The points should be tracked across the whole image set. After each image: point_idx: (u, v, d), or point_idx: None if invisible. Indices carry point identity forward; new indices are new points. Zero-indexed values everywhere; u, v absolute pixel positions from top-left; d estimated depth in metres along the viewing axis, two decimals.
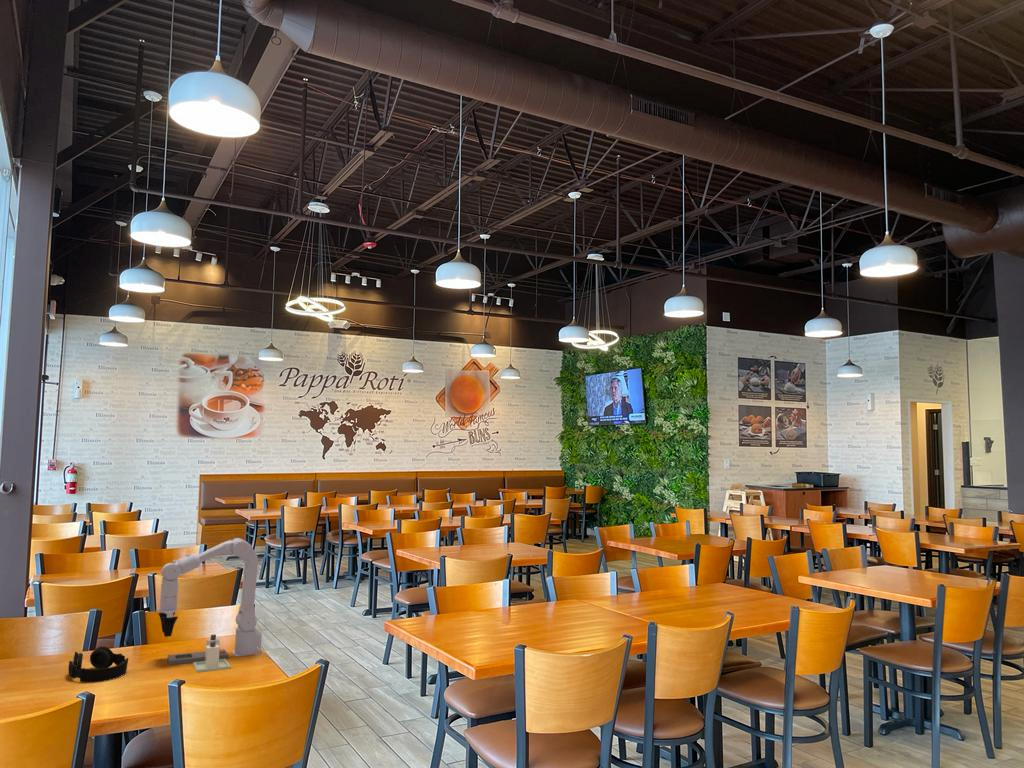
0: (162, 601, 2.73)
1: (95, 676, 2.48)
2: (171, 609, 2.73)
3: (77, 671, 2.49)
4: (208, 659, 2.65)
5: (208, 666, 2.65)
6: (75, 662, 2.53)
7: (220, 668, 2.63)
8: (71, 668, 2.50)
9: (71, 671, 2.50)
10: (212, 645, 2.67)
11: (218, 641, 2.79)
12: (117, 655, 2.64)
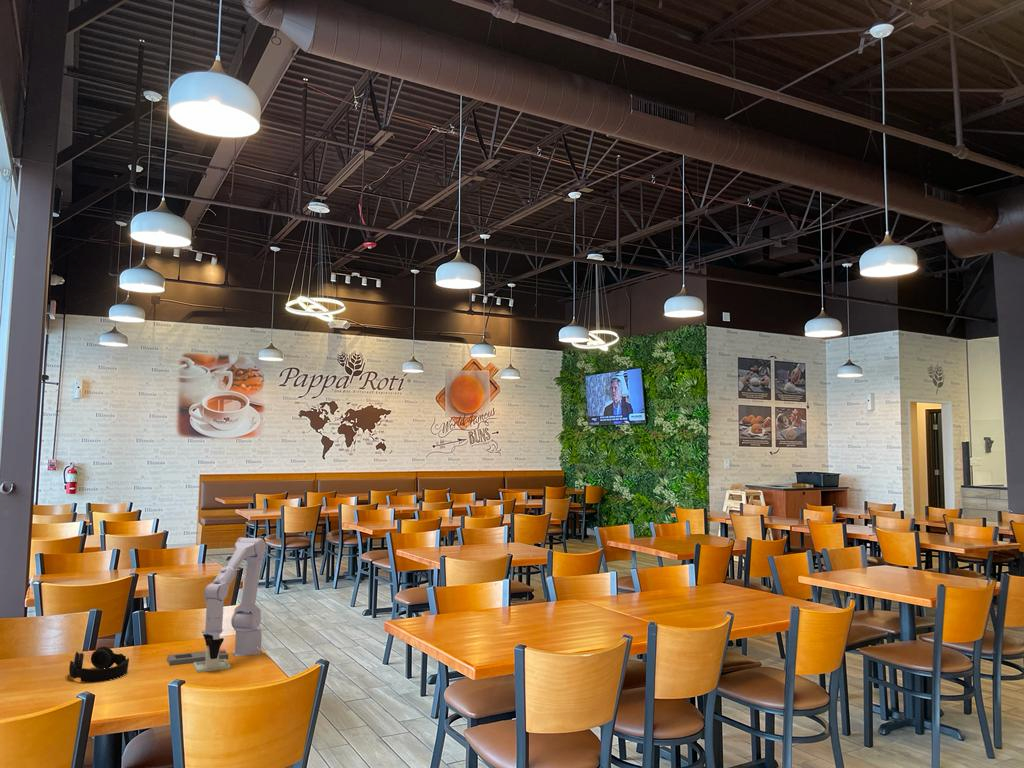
0: (208, 622, 2.66)
1: (96, 676, 2.48)
2: (217, 630, 2.66)
3: (78, 671, 2.48)
4: (208, 659, 2.65)
5: (208, 666, 2.65)
6: (76, 662, 2.53)
7: (220, 668, 2.63)
8: (72, 668, 2.50)
9: (72, 671, 2.50)
10: None
11: None
12: (118, 655, 2.64)
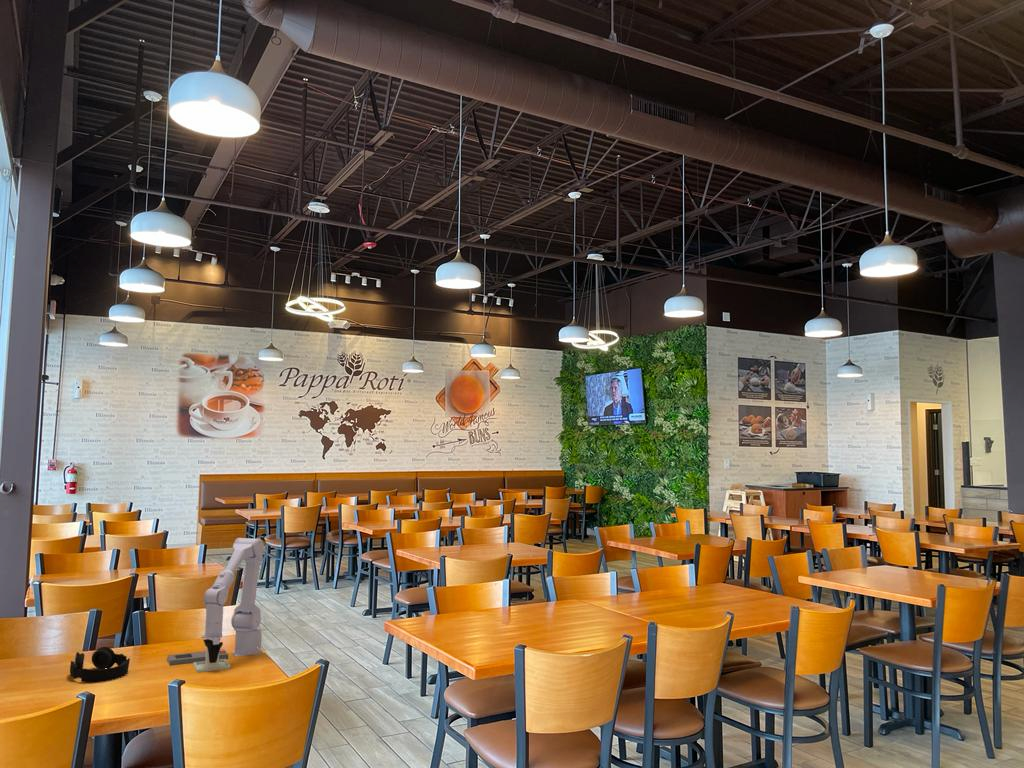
0: (207, 627, 2.66)
1: (96, 676, 2.48)
2: (217, 635, 2.66)
3: (78, 671, 2.48)
4: (208, 659, 2.65)
5: (208, 666, 2.65)
6: (77, 662, 2.53)
7: (220, 668, 2.63)
8: (72, 668, 2.50)
9: (72, 671, 2.49)
10: None
11: None
12: (119, 655, 2.64)
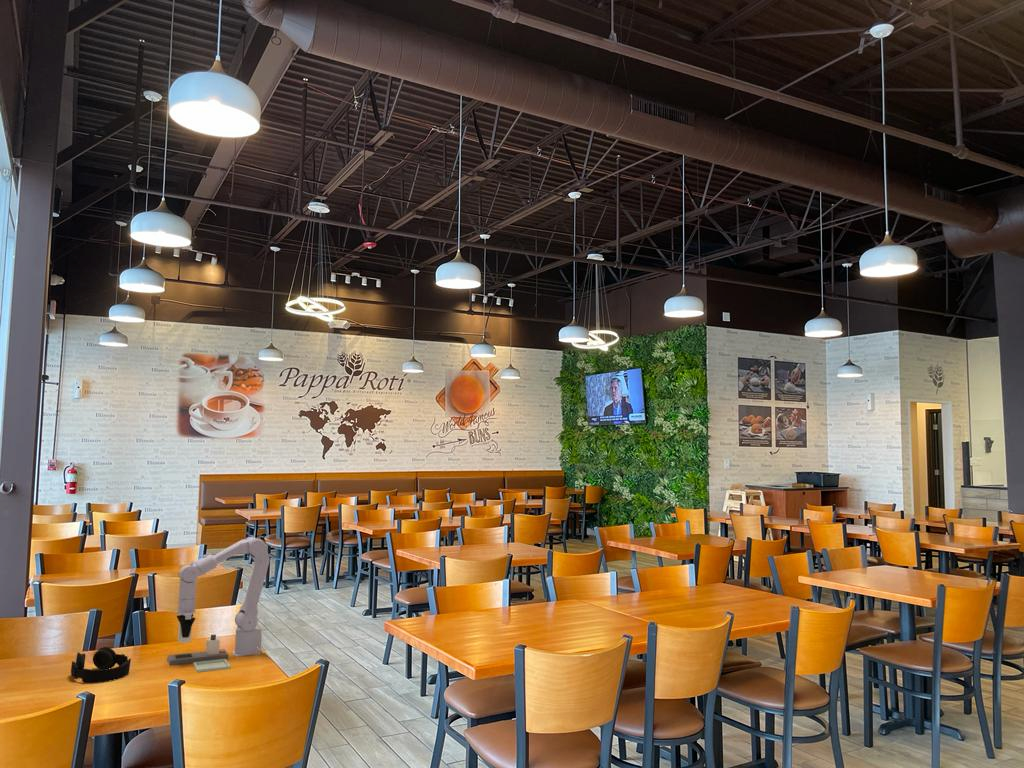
0: (180, 603, 2.74)
1: (97, 677, 2.47)
2: (189, 611, 2.74)
3: (79, 672, 2.48)
4: (180, 634, 2.73)
5: (180, 641, 2.73)
6: (78, 663, 2.53)
7: (220, 668, 2.63)
8: (73, 669, 2.49)
9: (73, 672, 2.49)
10: None
11: (218, 641, 2.79)
12: (120, 656, 2.63)
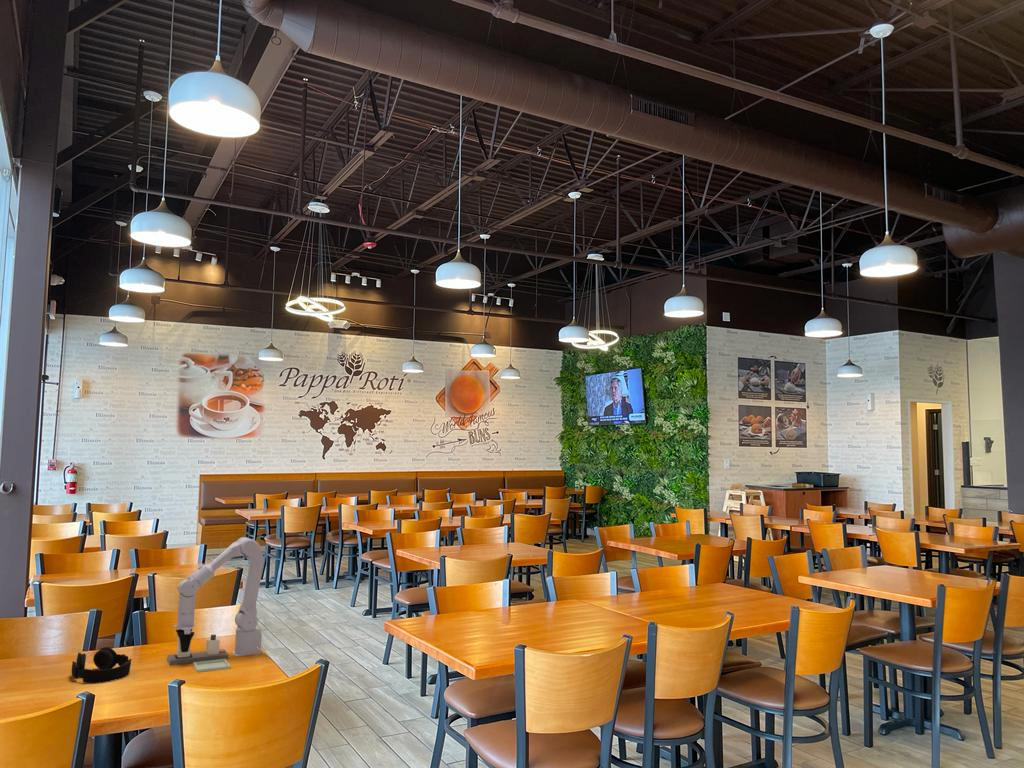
0: (179, 617, 2.73)
1: (98, 677, 2.47)
2: (188, 625, 2.74)
3: (80, 672, 2.48)
4: (179, 648, 2.72)
5: (179, 655, 2.72)
6: (78, 663, 2.53)
7: (220, 668, 2.63)
8: (74, 669, 2.49)
9: (74, 672, 2.49)
10: None
11: (218, 641, 2.79)
12: (120, 656, 2.63)
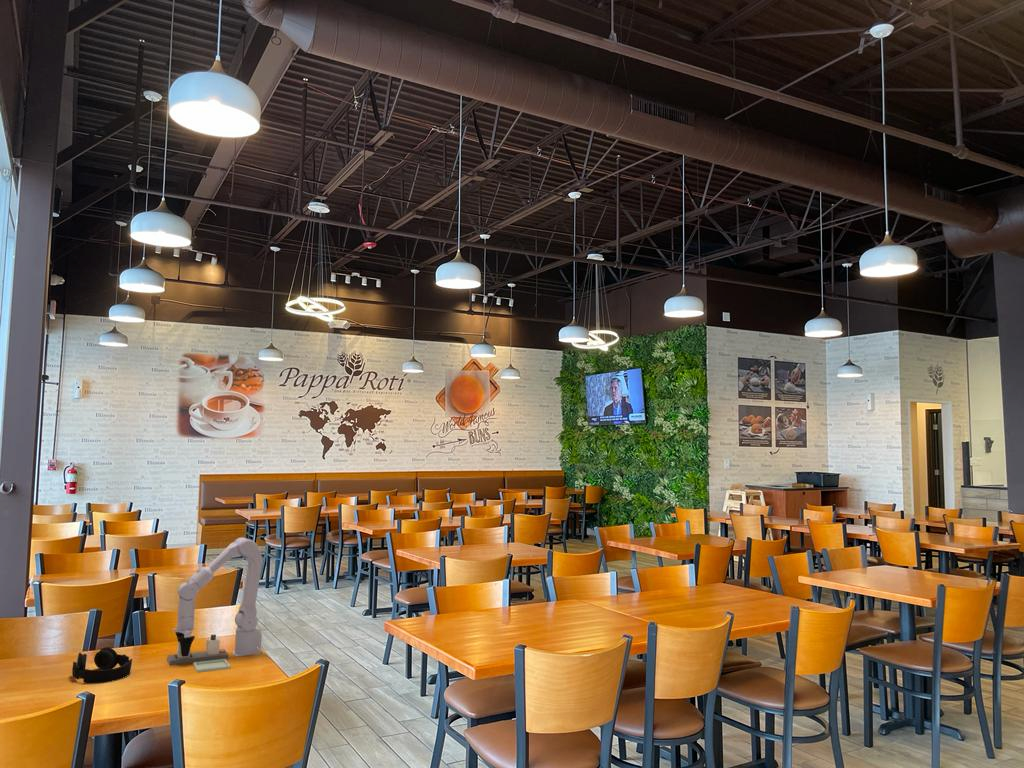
0: (179, 621, 2.73)
1: (98, 677, 2.47)
2: (188, 629, 2.73)
3: (81, 672, 2.48)
4: (179, 655, 2.72)
5: None
6: (79, 663, 2.52)
7: (220, 668, 2.63)
8: (75, 669, 2.49)
9: (75, 672, 2.49)
10: None
11: (218, 641, 2.79)
12: (121, 656, 2.63)
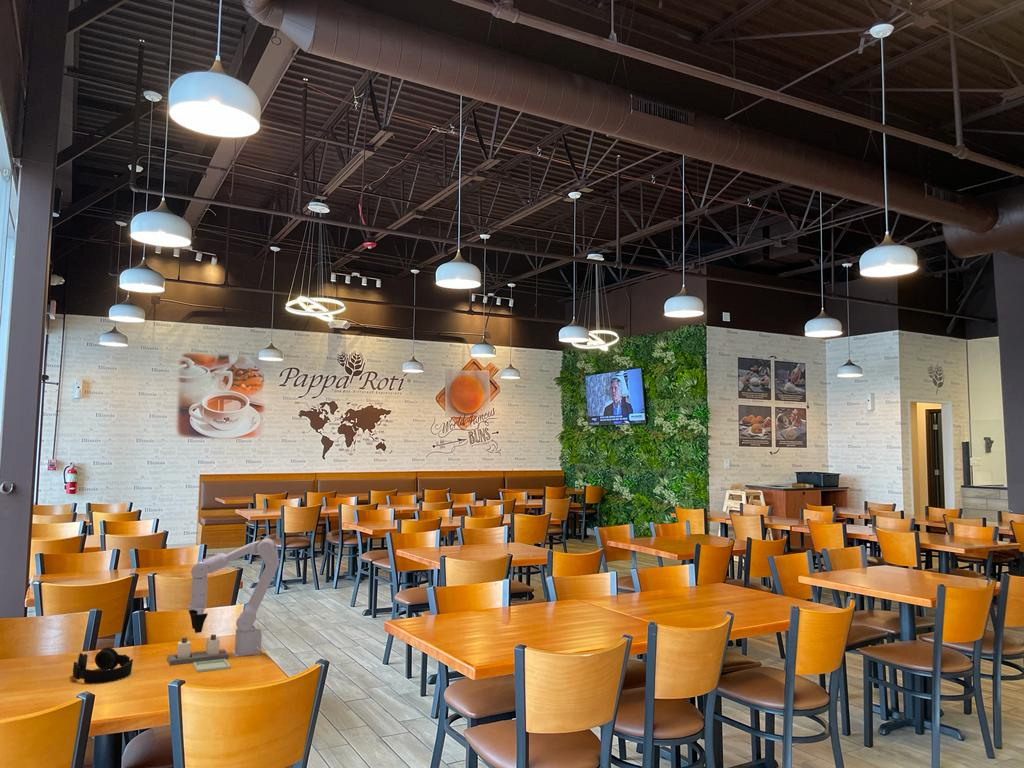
0: (192, 598, 2.82)
1: (99, 677, 2.47)
2: (201, 606, 2.83)
3: (81, 672, 2.47)
4: (179, 655, 2.72)
5: None
6: (79, 663, 2.52)
7: (220, 668, 2.63)
8: (75, 669, 2.49)
9: (75, 672, 2.49)
10: (183, 641, 2.74)
11: (218, 641, 2.79)
12: (122, 656, 2.63)
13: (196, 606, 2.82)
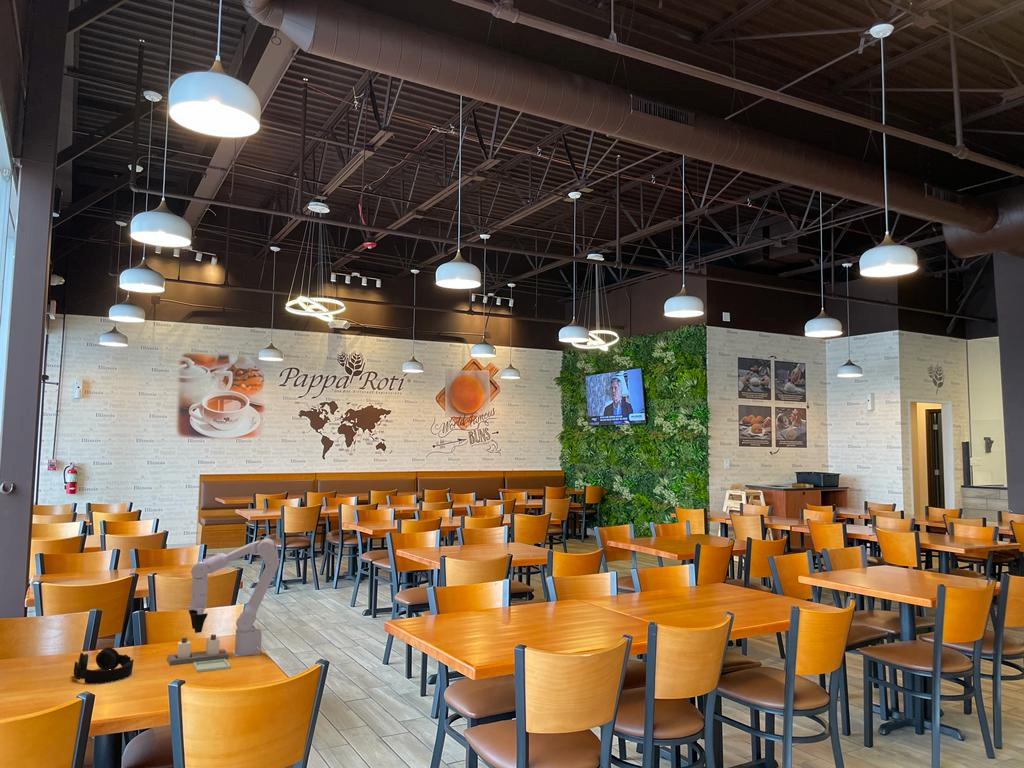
0: (192, 598, 2.82)
1: (100, 677, 2.47)
2: (201, 606, 2.83)
3: (82, 672, 2.47)
4: (179, 655, 2.72)
5: None
6: (80, 663, 2.52)
7: (220, 668, 2.63)
8: (76, 669, 2.49)
9: (76, 672, 2.48)
10: (183, 641, 2.74)
11: (218, 641, 2.79)
12: (123, 656, 2.63)
13: (196, 606, 2.82)
